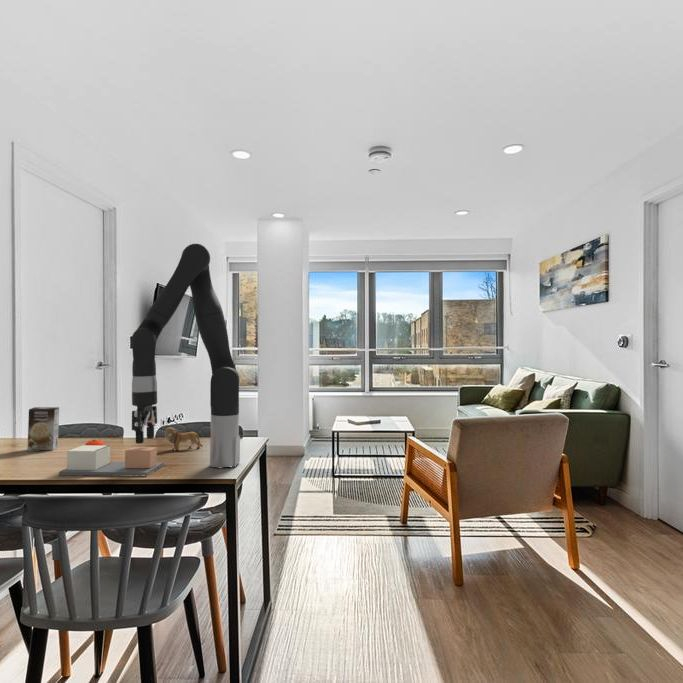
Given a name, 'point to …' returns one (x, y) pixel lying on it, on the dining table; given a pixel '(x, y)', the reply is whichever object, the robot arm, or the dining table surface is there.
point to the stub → (140, 457)
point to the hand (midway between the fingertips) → (145, 440)
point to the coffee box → (43, 428)
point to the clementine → (95, 442)
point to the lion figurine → (181, 437)
